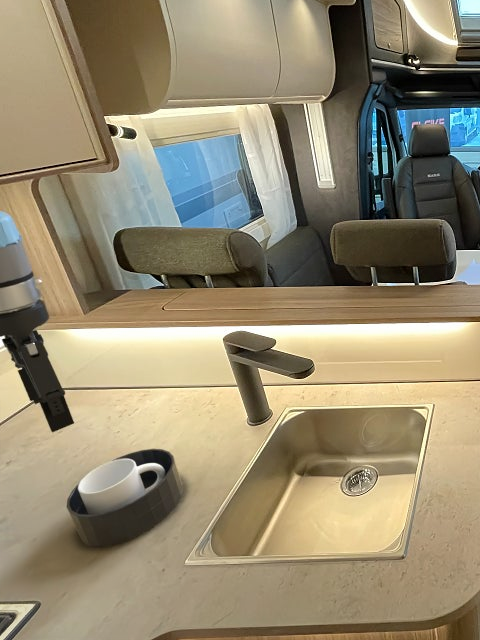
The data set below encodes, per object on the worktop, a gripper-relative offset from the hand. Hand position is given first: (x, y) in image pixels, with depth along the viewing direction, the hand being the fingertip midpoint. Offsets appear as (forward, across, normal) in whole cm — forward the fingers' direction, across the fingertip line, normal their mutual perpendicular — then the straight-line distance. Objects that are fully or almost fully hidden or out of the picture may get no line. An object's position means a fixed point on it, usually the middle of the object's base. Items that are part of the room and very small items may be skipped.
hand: (51, 411), depth 74 cm
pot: (+27, -4, -5) cm, 27 cm away
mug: (+26, -4, -5) cm, 27 cm away
